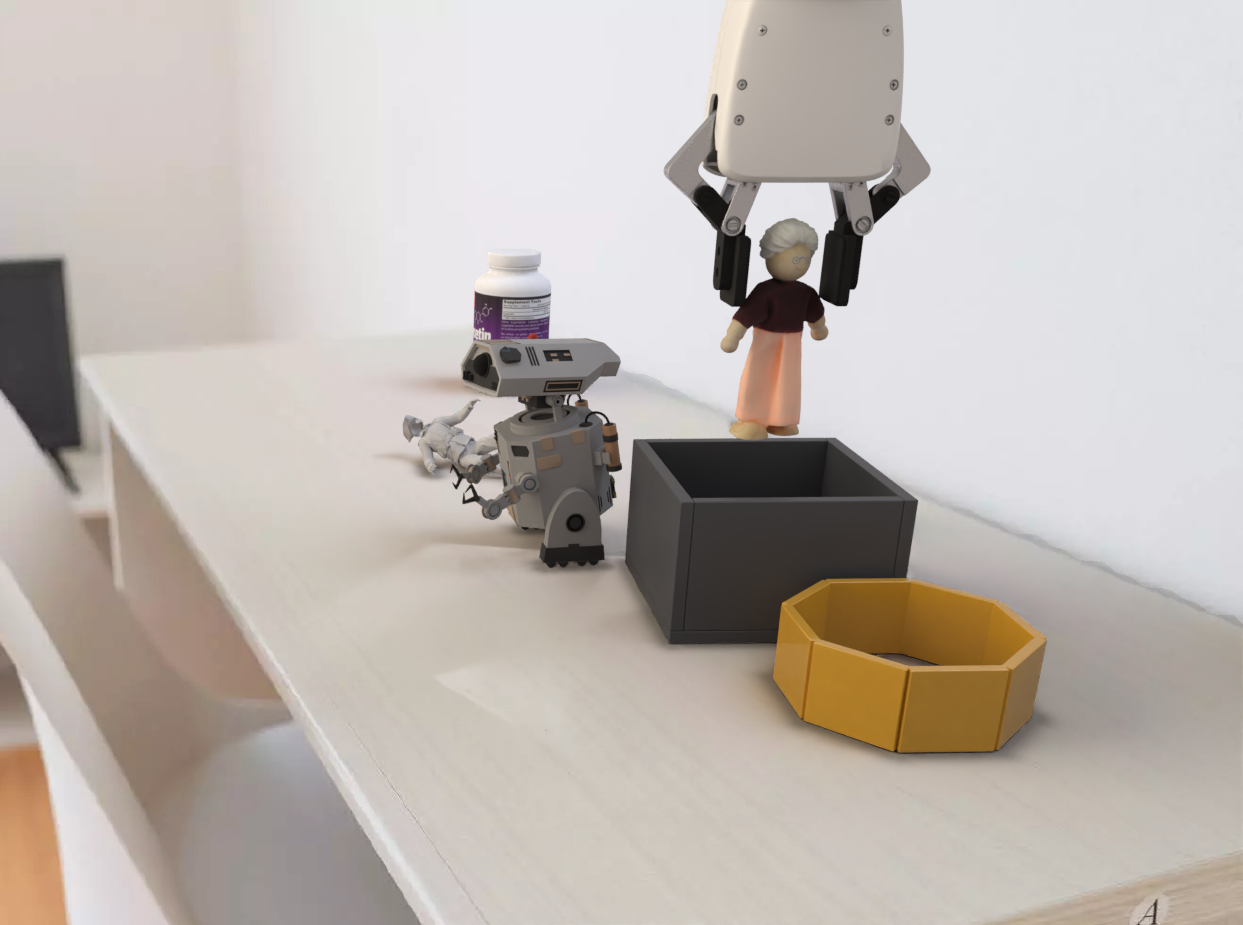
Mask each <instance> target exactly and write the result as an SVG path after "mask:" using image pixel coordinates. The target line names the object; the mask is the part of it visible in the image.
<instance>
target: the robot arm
mask: <svg viewBox="0 0 1243 925" xmlns="http://www.w3.org/2000/svg"><path fill="white" fill-rule="evenodd" d="M724 5H725V6H724V9H723V12H722V17H721V20H720V25H719V29H718V33H717V38H716V44H715V48H714V53H713V54H714V55H713V59H712V65H711V71H710V76H709V82H708V89H707V94H706V95H707V96H706V102H705V108H704V114H703V122H701V125H699V127H698V128H696V130H695V131H694V132H693V133H692V135H690V137H689V138H688V139H687V140H686V141H685V142H684V144H682V146H680V148H679V149H678V150H677V151H676V153H675V154H674V155H673V156H671V158H670V159H669V160H668V162H666V164H665V165H664V167H663V175H664V176H665V178H666V179H668V181H669V182H670V183H671V184H672V185H674V187H676V188H677V189H678V190H679V191H680V192H681V193H682V194H683V195H684V196H685V197H686V198H688V200H689V201H690V203H691V204H692V205H693V206H694V207H695V208H696V209H697V210H698V211H699V212H700V214H701V215H702V216H703V217H704V219H706V221H707V222H708V223H709V224H710V226H711V228H712V229H713V230H715V231H716V237H715V249H714V259H713V260H714V262H713V271H712V272H713V274H712V287H713V289H714V290H716V291H719V300H720V301H722V302H723V303H725V304H727V305H728V306H729V307H732V308H739V307H741V306H742V305H744V304H745V302H746V298H747V292H748V283H749V282H748V281H749V272H750V262H751V261H750V260H751V251H752V238H751V237H750V236H748V235H746V230H747V225H746V223H747V220H748V217H749V215H750V212H751V210H752V207H753V206H754V204H755V200H756V198H757V195H758V193H759V190H760V188H761V185H762V184H766V183H767V184H770V183H771V184H772V183H773V184H777V183H778V184H800V183H801V184H816V183H818V184H819V183H820V184H823V183H825V184H828V187H829V192H830V198H831V203H832V208H833V212H834V217H835V218H834V219H835V221H834V222H833V229H829V230H828V232H827V233H826V234H825V237H824V244H823V252H822V260H821V261H822V263H821V271H820V278H819V287H818V295H819V297H820V299H821V300H823V301H825V302H826V303H829V304H831V305H833V306H835V307H848V304H849V301H850V294H851V290H852V291H854V290H856V289H857V286H858V282H859V274H860V268H861V261H862V252H863V245H864V244H863V243H864V237H865V236H867V235H869V234H870V233H871V232H872V231H873V229H874V226H875V224H877V222H878V221H880V220H881V219H882V218H883V217H884V216H885V215H886V214H887V213H888V212H890V211H891V209H893V208H894V207H895V206H896V205H897V204H898V203H899V201H900V199H901V198H903V197H905V196H907V195H908V194H909V193H910V192H912V191H913V190H914V189H915V188H916V187H918V186H919V185H920V184H921V183H923V182H924V181H925V180H926V179H928V177H929V176H930V174H931V165H930V164H929V162H928V161H927V159H926V158H925V156H924V154H922V152H921V150H920V148H919V147H918V146H917V144H916V143H915V141H914V140H913V138H912V137H911V135H910V134H909V133H908V131H907V130H906V128H905V127H904V125H903V124H902V122H901V121H902V111H903V110H902V107H903V94H904V93H903V92H904V75H905V74H904V72H905V71H904V70H905V69H904V68H905V67H904V66H905V40H904V39H905V38H904V35H905V34H904V19H903V18H904V16H903V6H902V5H903V3H902V0H726V2H725V4H724ZM700 165H701V166H702V168H703V169H704V170H705V171H706V172H708V173H710V174H712V175H714V176H717V177H722V178H726V179H725V182H724V184H723V187H722V189H721V192H720V193H719V192H718V191H717V190H716V189H715V188H714V187H713V186H711V185H710V184H709V183H708V182H707V181H706V180H705V179H704V178H703V177H702V175H701V174H700V171H699V168H700ZM888 173H889V174H888ZM884 176H886V177H885V178H884V179H883V180H881V181H880V182H879V183H876V184H874V185H873V186H872V187H871V188H869V187H868V183H867V182H870V181H875V180H878V179H880V178H882V177H884ZM868 188H869V189H868Z"/></svg>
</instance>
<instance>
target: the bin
mask: <svg viewBox="0 0 1243 925" xmlns="http://www.w3.org/2000/svg"><path fill="white" fill-rule="evenodd" d="M918 505H919V499H918V498H916V497H915V496H913V495H912V494H911V493H909V492H908V491H907V490H906V489H904V488H903V487H902V486H900V485H899V484H897V483H896V482H895V481H894V480H892V479H891V478H890V477H888V476H887V475H886V474H884V473H883V472H882V471H880V470H879V469H877V468H876V467H875V466H874V465H872V464H871V463H870V462H868V461H867V460H866V459H865V458H864V457H862V456H861V455H859V454H858V453H857V452H855V451H854V450H853V449H851V448H850V447H849V446H847V445H846V444H845V443H843V442H842V441H841V440H840V439H838V438H837V437H768V438H767V439H764V440H755V441H752V440H742V439H739V438H736V437H732V438H731V437H730V438H728V437H726V438H725V437H724V438H719V437H718V438H713V437H712V438H711V437H709V438H634V439H633V440H632V453H631V468H630V482H629V496H628V510H627V511H628V512H627V523H626V524H627V525H626V526H627V527H626V540H625V541H626V542H625V553H624V554H625V555H624V563H625V565H626V567H627V569H628V571H629V572H630V575H631V576H632V578H633V580H634V582H635V584H636V585H637V588H638V589H639V591H640V593H641V595H642V597H643V598H644V600H645V602H646V604H647V605H648V607H649V609H650V611H651V613H652V615H653V616H654V619H655V620H656V622H657V624H658V626H659V628H660V630H661V632H662V633H663V635H664V638H666V640H667V643H668V644H673V645H674V644H675V645H676V644H748V643H749V644H750V643H751V644H755V643H756V644H758V643H761V644H762V643H764V644H765V643H769V644H770V643H777V639H778V631H779V622H780V614H781V605H782V603H783V602H784V601H786V600H788V599H790V598H791V597H793V596H795V595H797V594H798V593H800V592H802V591H804V590H805V589H807V588H809V587H811V586H812V585H814V584H816V583H817V582H819V581H821V580H826V579H869V578H908V570H909V564H910V559H911V558H910V557H911V551H912V544H913V538H914V531H915V526H916V518H917V512H918Z"/></svg>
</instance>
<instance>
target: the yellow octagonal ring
mask: <svg viewBox="0 0 1243 925" xmlns="http://www.w3.org/2000/svg"><path fill="white" fill-rule="evenodd" d="M1047 642H1048V641H1047V637H1046V636H1045V635H1044V634H1043V633H1042V632H1041V631H1039V630H1038V629H1037V628H1035V627H1034V626H1033V625H1032V624H1031V623H1029V622H1028V621H1027V620H1026V619H1024V618H1023V617H1022V616H1021V615H1020V614H1018V612H1016V611H1014V610H1013V609H1012V608H1011V607H1010V606H1009V605H1007V604H1006V603H1005V602H1003V601H999V600H998V599H995V598H990V597H986V596H982V595H979V594H975V593H971V592H967V591H962V590H959V589H955V588H950V587H949V586H948V587H947V586H944V585H941V584H940V585H939V584H935V583H932V582H928V581H925V580H920V579H916V578H912V579H911V578H909V577H907V578H869V579H826V580H821V581H819V582H817V583H816V584H814V585H812V586H811V587H809V588H807V589H805V590H804V591H802V592H800V593H798V594H797V595H795V596H793V597H791V598H790V599H788V600H786V601H784V602H783V603H782V605H781V614H780V622H779V631H778V639H777V642H776V649H775V656H774V657H775V658H774V664H773V665H774V666H773V674H772V680H773V681H774V682H775V684H776V686H777V687H778V688H779V690H780V691H781V692H782V694H783V695H784V697H785V698H786V700H787V702H788V703H789V704H790V706H791V707H792V708H793V710H794V711H795V713H796V714H797V716H798V718H800V719H802V720H803V721H804V722H805V723H809V724H811V725H814V726H817V727H820V728H823V729H826V730H829V731H831V732H835V733H838V734H839V735H840V734H841V735H844V736H847V737H849V738H853V739H855V740H857V741H861V742H863V743H866V744H870V745H873V746H875V747H878V748H881V749H883V750H887V751H890V752H895V751H897V753H899V754H904V753H905V754H907V753H910V754H911V753H979V752H980V753H981V752H982V753H984V752H989V753H990V752H994V751H999V750H1000V749H1001V748H1002V747H1003V746H1004V745H1005V744H1006V743H1007V742H1008V741H1009V740H1010V739H1012V737H1013V736H1015V735H1016V733H1017V732H1019V731H1020V730H1021V729H1022V728H1023V727H1024V726H1025V725H1026V724H1027V723H1028V722H1029V721H1030V720H1031V719H1032V718H1033V715H1034V714H1033V713H1034V708H1035V703H1036V698H1037V693H1038V688H1039V683H1040V678H1041V672H1042V669H1043V668H1042V667H1043V662H1044V658H1045V653H1046V648H1047ZM874 654H876V655H874ZM877 654H879V655H880V654H901V655H905V656H908V657H912V658H915V659H917V660H922V661H924V662H928V663H932V664H934V665H907V664H903V663H901V662H897V661H893V660H891V659H887V658H884V657H881V656H878V655H877Z"/></svg>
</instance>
